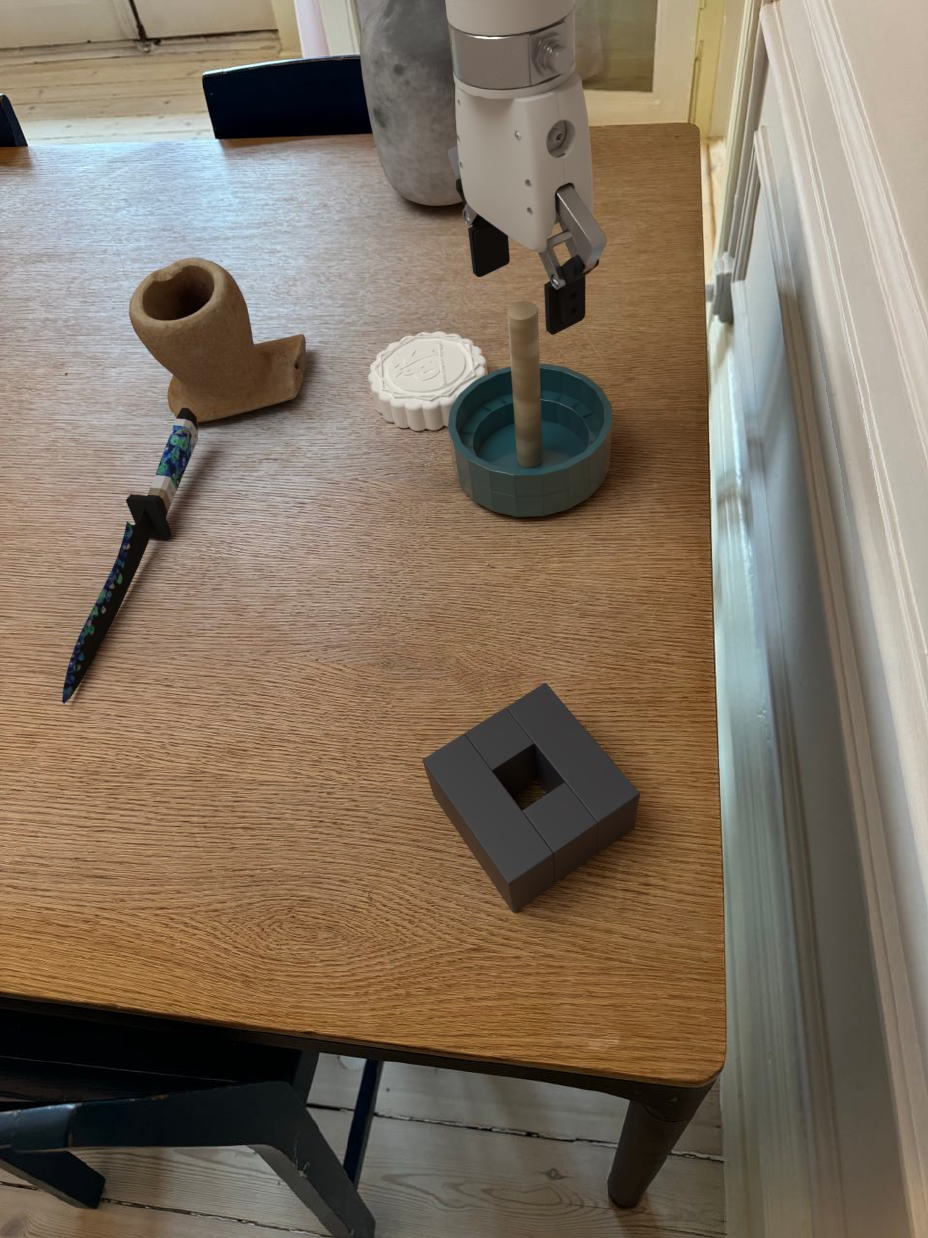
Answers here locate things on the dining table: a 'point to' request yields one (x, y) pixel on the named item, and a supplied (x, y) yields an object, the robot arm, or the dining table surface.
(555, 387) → the bowl
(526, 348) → the stick
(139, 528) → the knife
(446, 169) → the vase
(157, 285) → the brown hollow clay piece
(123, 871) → the dining table surface
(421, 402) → the mooncake
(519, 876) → the holder
